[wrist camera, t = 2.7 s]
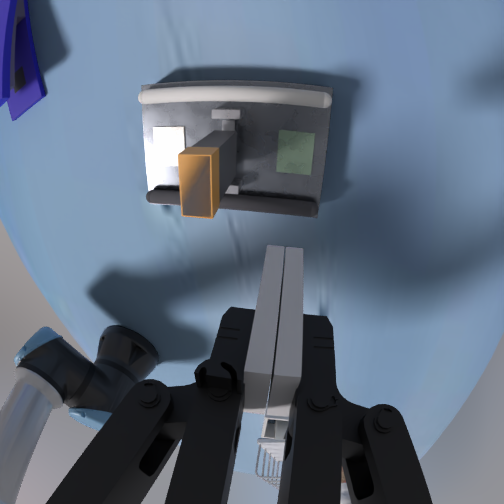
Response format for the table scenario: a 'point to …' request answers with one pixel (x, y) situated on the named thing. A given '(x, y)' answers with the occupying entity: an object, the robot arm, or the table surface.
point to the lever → (207, 171)
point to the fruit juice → (344, 491)
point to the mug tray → (270, 424)
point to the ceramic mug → (280, 429)
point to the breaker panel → (243, 141)
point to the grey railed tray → (239, 95)
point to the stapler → (18, 59)
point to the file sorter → (274, 450)
